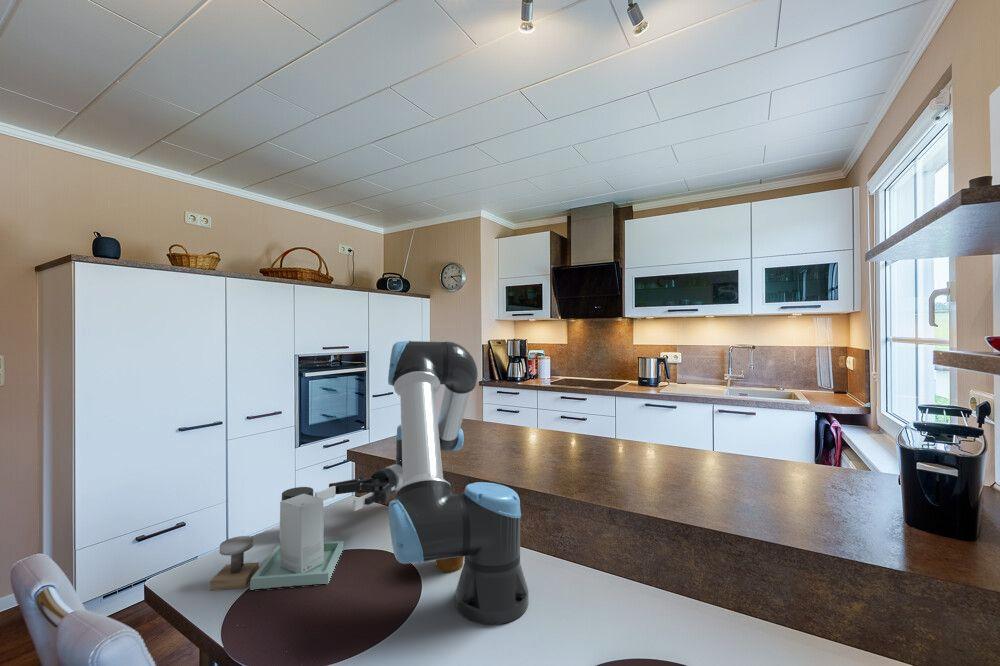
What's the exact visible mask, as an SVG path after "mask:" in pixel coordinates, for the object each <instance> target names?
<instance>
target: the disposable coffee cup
mask: <svg viewBox="0 0 1000 666" xmlns="http://www.w3.org/2000/svg"><path fill="white" fill-rule="evenodd" d="M464 558H465V556H462V557H454V558H447V559H440V560H435V562H436V568H437V570H439V571H441V572H442V573H443V572H445V573H453V572H457V571H458V570H461V568H463V566H464Z"/></svg>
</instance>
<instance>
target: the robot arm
mask: <svg viewBox="0 0 1000 666" xmlns="http://www.w3.org/2000/svg"><path fill="white" fill-rule="evenodd" d="M477 381H478V367H477V363H476V360H475V359H474V357H473V356H472V355H471V353H470V351H468V350H467V349H466V348H465V347H463V346H462V345H461V344H459V343H456V342H453V341H424V340H423V341H421V340H419V341H413V340H406V341H404V340H403V341H397V342H395V343H393V344H392V348H391V354H390V358H389V369H388V378H387V382H388V385H389V386H392V387H393V388H394V392H395V393H396V394H397V395H398V396H399V397H400V424H399V425H398V426H397V428H396V438H395V440H396V443H395V444H396V446H395V447H396V448H395V449H396V450H395V464H392V465H389V466H385V468H382V469H378V470H376V471H374V472H373V473H372V475H371V476H370V477H368V478H366V479H363V478H362V477H357V478H355V479H348V480H343V481H337V482H331V483H329V484H328V487H327V488H324V489H322V490H318V491H316V492H314V496H315V497H319V498H323V502H325V501H326V500H328V499H331V498H335V497H336V495H343V494H350V493H357V494H362V493H363V495H362V496H361V495H360V496H359V497H357V498H354V499H353V500H352V501H353V502H352V503H353V505H352V510H353V512H356V511H358V510H360V509H363V508H365V507H367V506H369V505H372V504H373V503H376V504H378V503H379V502H380V503H382V504H385V503H386V502H387V501H388V499H389V498H390V496H391V495H392V494H393V493H395V498H394V499H392V500H390V501H389V504H388V517H389V530H390V538H391V543H392V549H393V553H394V556H395V559H396V561H398V563H401V564H402V565H403V564H416V563H417V564H423V563H425V562H433V561H436V560H440V559H447V558H454V557H462V556H464V558H463V566H462V570H461V573H460V576H459V579H458V581H457V585H456V588H455V607H456V610H457V612H458V613H459V614H460V615H462V617H464V618H466V619H467V620H469V621H471V622H474V623H477V624H481V625H500V624H507V623H508V622H512V621H514V620H516V619H518V618H520V617H521V616H522V615H524V613H525V612H526V611H527V609H528V607H529V588H528V584H527V582H526V577H525V575H524V571H523V568H522V564H521V518H522V513H521V512H522V511H521V501H520V497H519V494H518V493H517V491H515V490H514V489H512V488H510V487H508V486H505V485H502V484H499V483H493V482H485V481H484V482H483V481H477V482H472V483H469V484H467V485H466V486H465V488H464V489H463V490H464V491H463V493H459V494H457V493H456V494H453V491H452V485H451V483H450V482H449V481H447V480H445V478H444V473H443V472H444V471H443V465H442V464H443V463H442V454H441V453H442V452H453V451H460V450H462V449H463V447H464V442H465V439H464V437H465V436H464V431H463V429H462V428H461V426H462V423H463V419H464V416H465V413H466V409H467V405H468V401H469V397H470V394H471V392H472V391H473V390H475V387H476V386H477ZM441 385H444V391H443V396H442V399H441V400H442V401H441V406H440V411H439V416H438V410H437V402H436V400H437V399H436V393H437V392H438V391H439V390H440V387H441ZM400 460H401V461H400ZM365 493H366V494H365Z"/></svg>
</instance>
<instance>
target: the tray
mask: <svg viewBox="0 0 1000 666" xmlns="http://www.w3.org/2000/svg"><path fill="white" fill-rule="evenodd" d="M342 551H343V552H344V540H338V541H337V540H335V541H324V563H323V564H322V565H320V566H318V567H316V568H314V569H312V570H310V571H308V572H306V573H294V572H292V571H290V570H287V569H285V568H282V567H280V544H279V545H276V547H275V548H274V549H273V550H272V552H271V553H270V554H269V555H268V556H267V558H266V559H265V560H264V561H263V563H262V564H261V566H259V569H258V570H257V572H256V573H255V574H254V575H253V577H252V578H251V579H250V582H249V591H250V590H254V589H260V588H271V587H282V586H293V585H310V584H311V585H312V584H326V585H329V584H328V583H330V582H329V581H331V579H332V577H331V576H333V575H332V573H333V574H334V572H335V570H336V568H335V566H336V564H337V565H338V563H339V561H340V559H339V557H340V555H341V556H342V554H343V552H342ZM341 553H342V554H341ZM340 558H341V557H340ZM338 560H339V561H338ZM337 562H338V563H337ZM336 567H337V566H336ZM334 569H335V570H334ZM333 571H334V572H333ZM330 578H331V579H330Z"/></svg>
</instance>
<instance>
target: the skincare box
mask: <svg viewBox="0 0 1000 666" xmlns="http://www.w3.org/2000/svg"><path fill="white" fill-rule="evenodd" d="M279 508H280V509H279V531H280V539H279V542H280V544H279V545H280V567H282V568H285V569H287V570H290V571H292V572H294V573H306V572H308V571H310V570H312V569H314V568H316V567H318V566H320V565H322V564H323V563H324V542H325V541H324V535H325V534H324V529H325V528H324V501H323V498H319V497H315V495H313V496H311V495H307V494H301V495H298V496H295V497H292V498H290V499H287V500H283V501H282V500H281V501H279Z"/></svg>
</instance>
